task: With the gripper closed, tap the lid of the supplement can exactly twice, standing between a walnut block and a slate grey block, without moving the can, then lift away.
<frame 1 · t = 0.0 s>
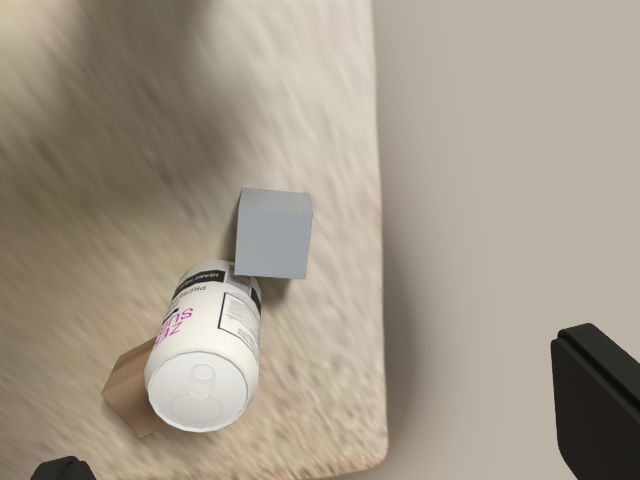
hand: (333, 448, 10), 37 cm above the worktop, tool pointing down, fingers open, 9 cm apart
walnut block: (161, 364, 51), on the worktop
slate grey block: (272, 221, 47), on the worktop
supplement can: (219, 294, 49), on the worktop
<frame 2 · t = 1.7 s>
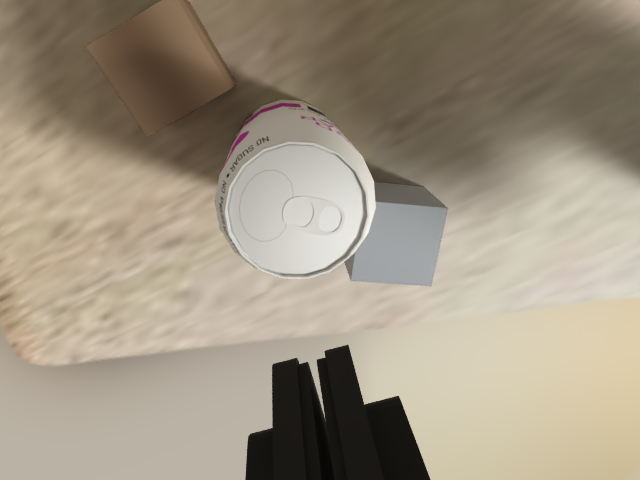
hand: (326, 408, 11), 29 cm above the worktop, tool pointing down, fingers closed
walnut block: (177, 65, 35), on the worktop
slate grey block: (381, 218, 41), on the worktop
supplement can: (288, 153, 38), on the worktop
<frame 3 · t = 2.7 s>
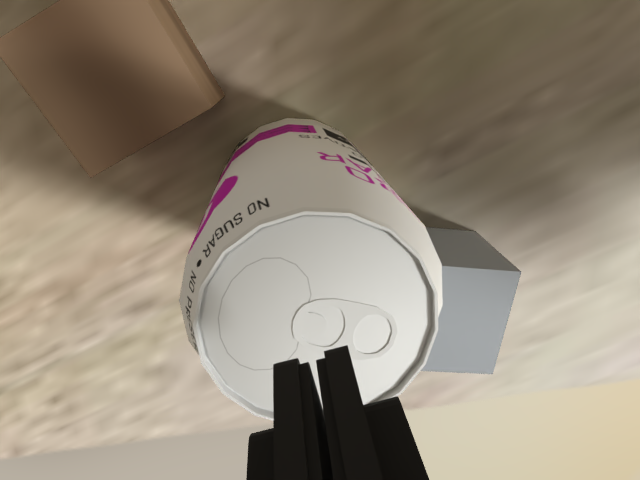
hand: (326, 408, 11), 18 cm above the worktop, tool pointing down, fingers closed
walnut block: (142, 71, 25), on the worktop
slate grey block: (418, 272, 31), on the worktop
supplement can: (295, 189, 28), on the worktop
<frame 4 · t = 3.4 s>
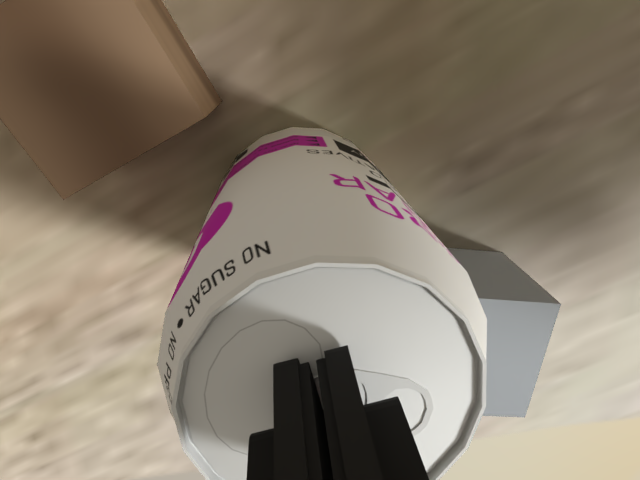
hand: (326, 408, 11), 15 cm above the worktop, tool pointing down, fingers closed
walnut block: (128, 73, 22), on the worktop
slate grey block: (437, 297, 28), on the worktop
supplement can: (301, 206, 25), on the worktop, touching gripper
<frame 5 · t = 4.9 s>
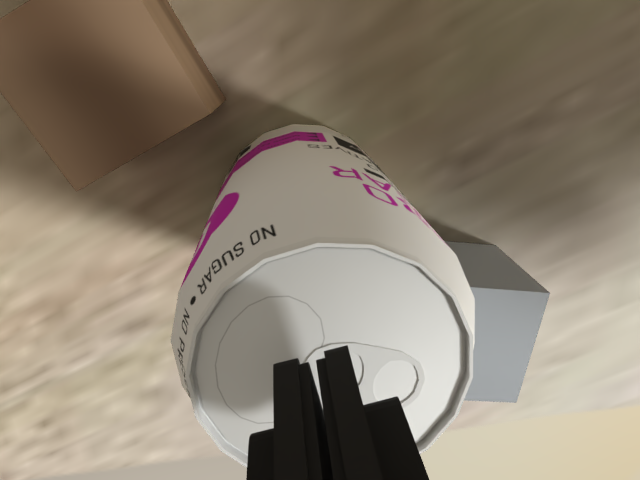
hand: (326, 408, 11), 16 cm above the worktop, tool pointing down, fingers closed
walnut block: (136, 73, 23), on the worktop
slate grey block: (433, 289, 29), on the worktop
supplement can: (302, 200, 26), on the worktop
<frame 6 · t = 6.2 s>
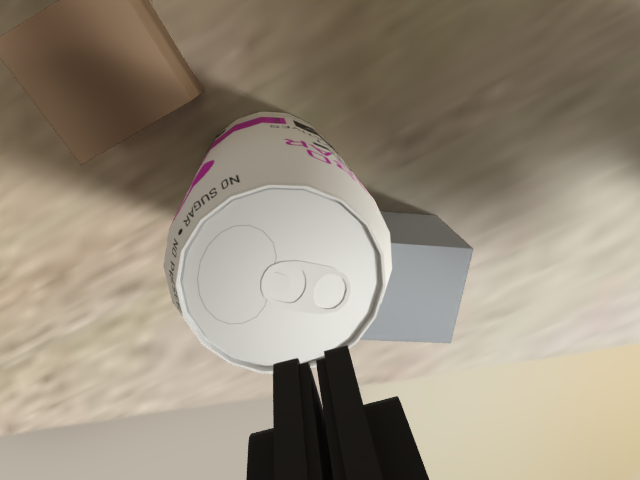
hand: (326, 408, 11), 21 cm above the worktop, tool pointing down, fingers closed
walnut block: (127, 68, 27), on the worktop
slate grey block: (385, 254, 33), on the worktop
supplement can: (270, 177, 31), on the worktop
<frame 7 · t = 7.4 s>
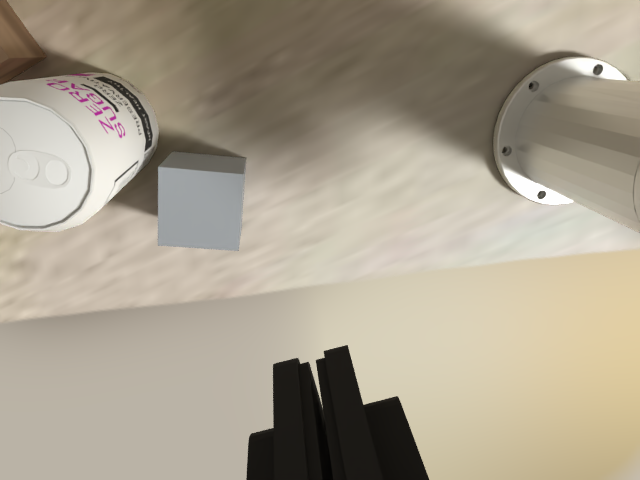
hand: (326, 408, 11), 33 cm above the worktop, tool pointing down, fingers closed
slate grey block: (208, 189, 42), on the worktop
supplement can: (108, 126, 40), on the worktop
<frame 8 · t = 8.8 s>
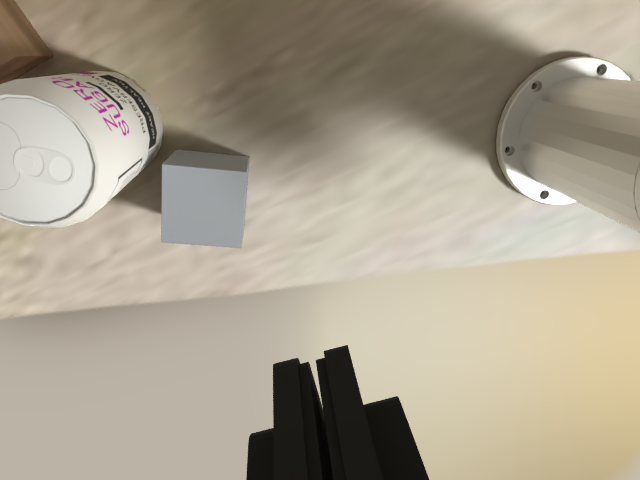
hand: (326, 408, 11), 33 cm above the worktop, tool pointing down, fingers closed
slate grey block: (211, 187, 43), on the worktop
supplement can: (113, 124, 40), on the worktop
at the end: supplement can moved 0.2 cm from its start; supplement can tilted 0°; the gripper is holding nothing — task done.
